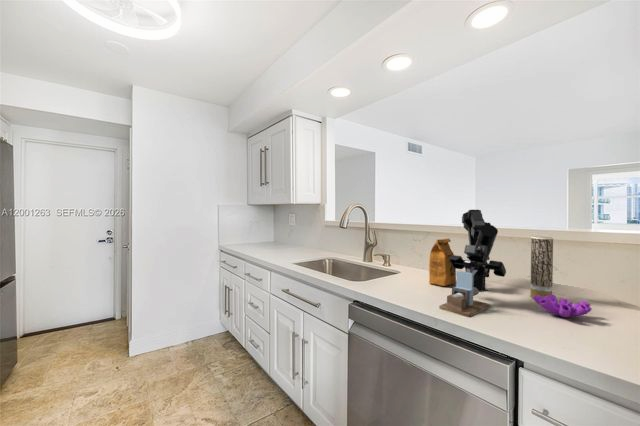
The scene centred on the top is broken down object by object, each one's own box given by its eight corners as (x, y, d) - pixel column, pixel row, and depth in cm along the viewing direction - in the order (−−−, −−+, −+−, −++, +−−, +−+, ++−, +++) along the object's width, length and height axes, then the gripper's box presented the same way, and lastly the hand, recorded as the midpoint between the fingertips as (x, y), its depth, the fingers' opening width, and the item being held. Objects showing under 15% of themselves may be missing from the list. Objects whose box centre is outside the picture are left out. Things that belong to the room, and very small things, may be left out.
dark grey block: (453, 301, 99) (454, 287, 99) (469, 305, 95) (469, 290, 95) (451, 302, 98) (451, 287, 98) (467, 306, 94) (467, 291, 94)
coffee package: (459, 284, 130) (460, 238, 130) (445, 288, 123) (445, 240, 123) (440, 280, 139) (440, 237, 139) (425, 283, 132) (426, 238, 132)
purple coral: (589, 335, 85) (585, 314, 82) (531, 319, 97) (525, 300, 94) (596, 307, 90) (592, 287, 87) (540, 295, 102) (535, 277, 99)
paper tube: (556, 302, 105) (557, 238, 105) (536, 301, 106) (537, 237, 106) (545, 297, 112) (546, 236, 112) (526, 296, 113) (527, 236, 113)
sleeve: (457, 300, 101) (458, 270, 101) (473, 304, 97) (473, 273, 97) (453, 301, 99) (454, 271, 99) (469, 305, 95) (469, 274, 95)
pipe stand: (461, 299, 108) (461, 284, 108) (489, 306, 100) (489, 290, 100) (439, 308, 97) (439, 291, 97) (468, 317, 90) (468, 298, 90)
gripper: (451, 235, 112) (436, 265, 105) (503, 239, 97) (490, 274, 90) (460, 252, 117) (447, 282, 110) (511, 259, 102) (499, 294, 95)
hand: (468, 283), depth 101 cm, fingers closed
